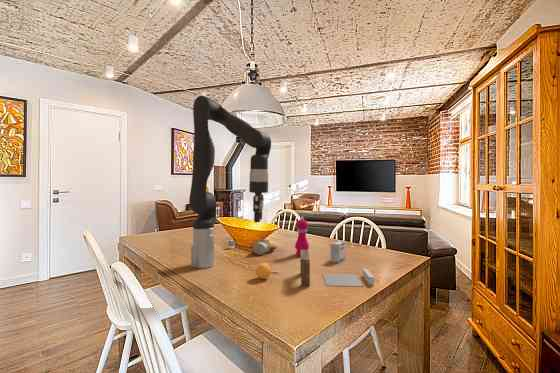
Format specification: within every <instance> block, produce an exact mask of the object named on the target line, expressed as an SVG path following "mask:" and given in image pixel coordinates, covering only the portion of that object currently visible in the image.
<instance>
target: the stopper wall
mask: <svg viewBox="0 0 560 373" xmlns="http://www.w3.org/2000/svg"><path fill="white" fill-rule="evenodd" d="M362 278H363V279H364V280H365V282H366V283H367V284H368V285H369V286H375V277H374V275H373V274H372V273H371V272H370V271H369V270H368V269H367V268H362Z"/></svg>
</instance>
